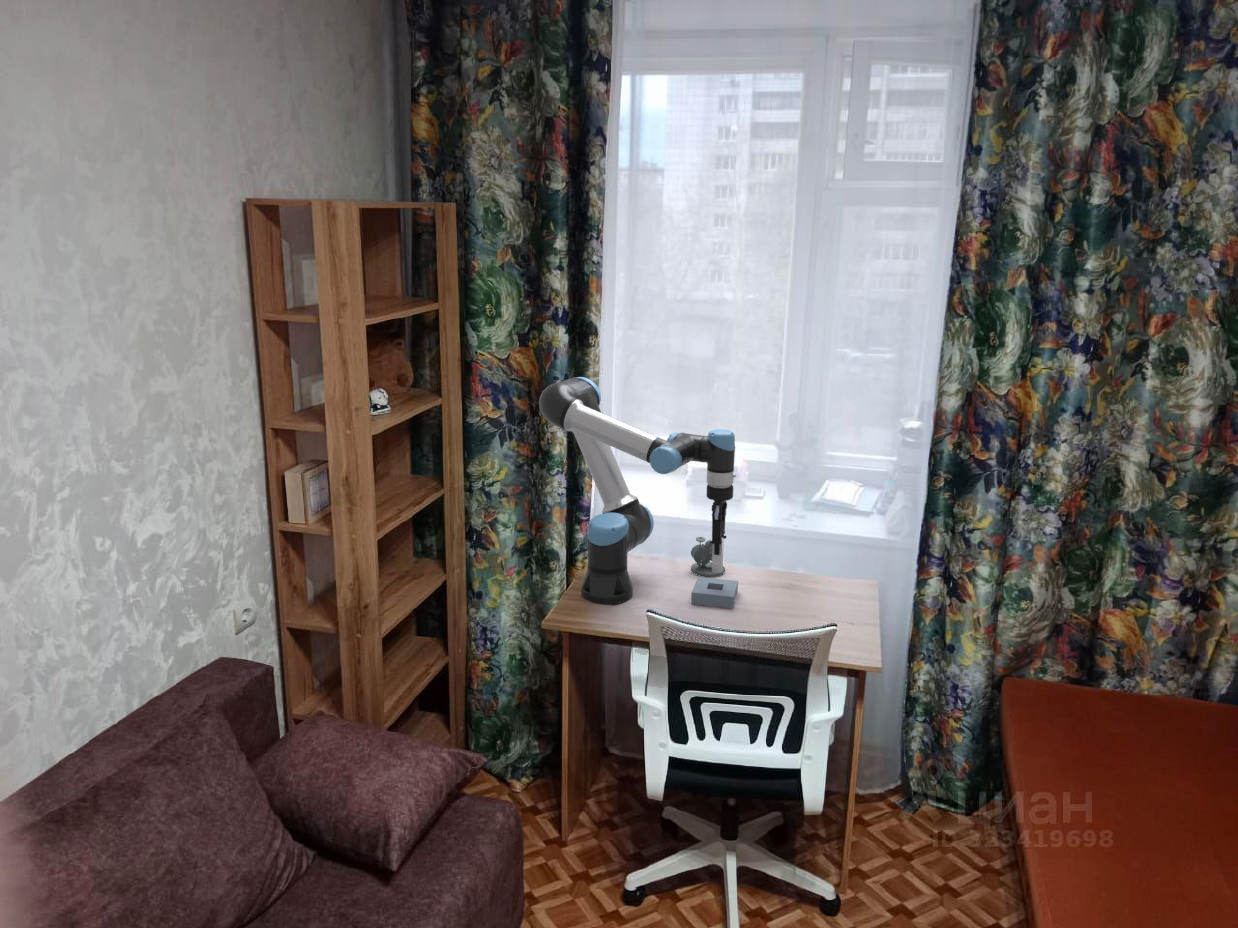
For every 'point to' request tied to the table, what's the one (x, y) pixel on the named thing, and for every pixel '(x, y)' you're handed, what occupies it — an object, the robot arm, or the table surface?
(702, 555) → the figurine
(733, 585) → the hole block
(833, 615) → the table surface
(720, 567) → the peg
